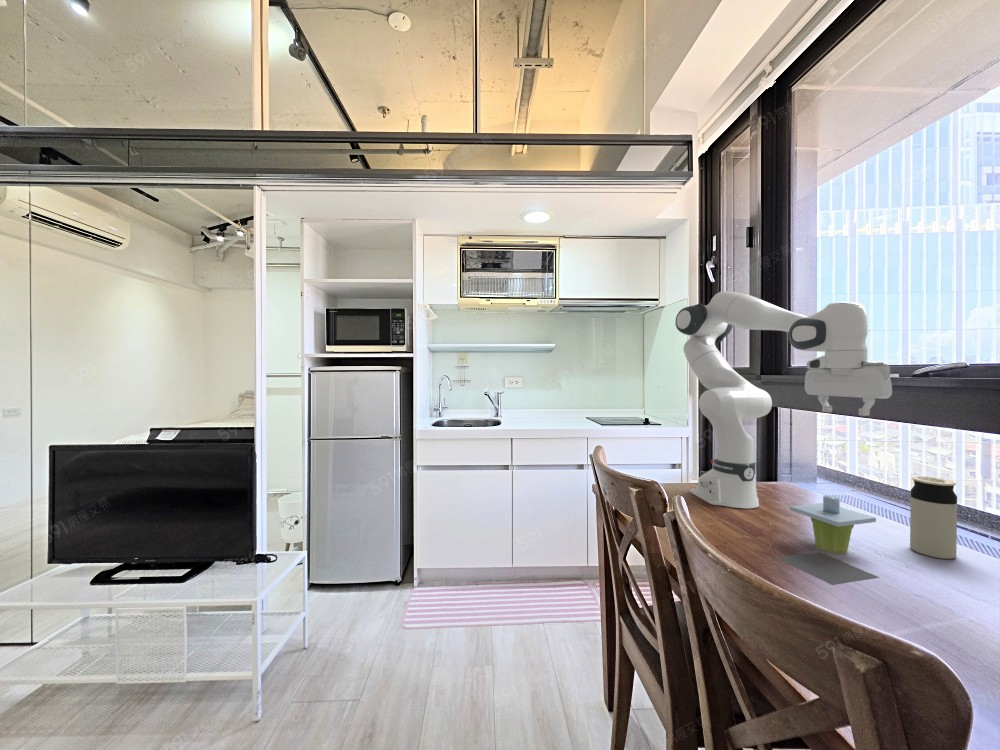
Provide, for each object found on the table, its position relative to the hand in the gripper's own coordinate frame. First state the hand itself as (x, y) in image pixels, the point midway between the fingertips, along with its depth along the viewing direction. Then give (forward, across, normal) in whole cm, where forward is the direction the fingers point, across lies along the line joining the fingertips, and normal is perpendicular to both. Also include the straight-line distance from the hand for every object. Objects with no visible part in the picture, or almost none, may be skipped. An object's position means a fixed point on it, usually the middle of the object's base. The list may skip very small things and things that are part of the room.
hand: (844, 413), depth 114 cm
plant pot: (+33, -6, +12) cm, 36 cm away
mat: (+33, -13, +24) cm, 43 cm away
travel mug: (+33, -13, -11) cm, 37 cm away
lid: (+24, -6, +12) cm, 28 cm away
